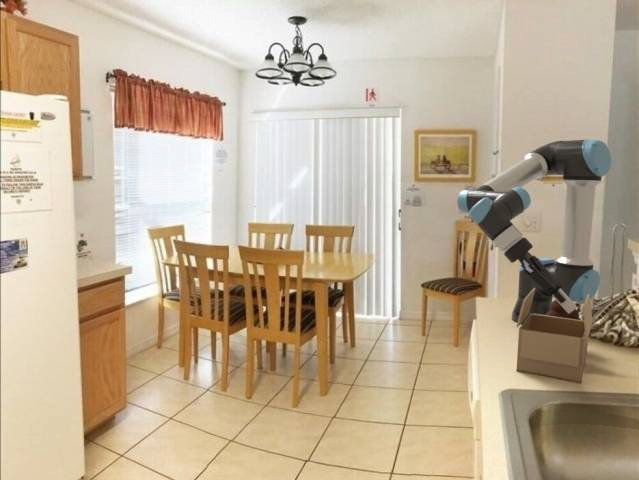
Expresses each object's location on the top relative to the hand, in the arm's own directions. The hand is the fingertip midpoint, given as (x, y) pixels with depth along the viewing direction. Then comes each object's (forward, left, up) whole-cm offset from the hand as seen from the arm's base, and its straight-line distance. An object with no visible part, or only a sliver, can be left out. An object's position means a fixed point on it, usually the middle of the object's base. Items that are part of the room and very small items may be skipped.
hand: (572, 310), depth 147 cm
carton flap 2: (0, +3, -1) cm, 4 cm away
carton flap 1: (0, -12, -1) cm, 12 cm away
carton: (0, -4, -17) cm, 17 cm away
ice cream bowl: (-19, -4, -17) cm, 26 cm away
